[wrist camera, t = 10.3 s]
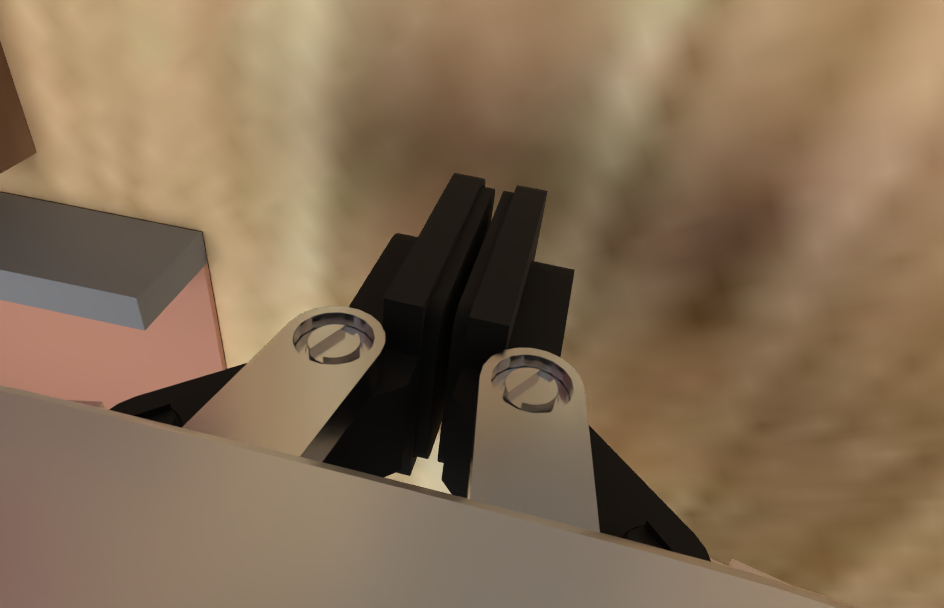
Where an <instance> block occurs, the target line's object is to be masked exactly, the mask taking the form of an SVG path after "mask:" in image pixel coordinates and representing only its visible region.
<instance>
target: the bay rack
mask: <svg viewBox="0 0 944 608" xmlns="http://www.w3.org/2000/svg"><path fill="white" fill-rule="evenodd" d="M222 370H226V365H225V359H224V354H223V348H222V342H221V337H220V331H219V325H218V320H217V314H216V308H215V303H214V297H213V292H212V286H211V280H210V275H209V269H208V263H207V258H206V252H205V246H204V241H203V235H202V232H199V231H194V230H189V229H184V228H179V227H174V226H169V225H164V224H159V223H154V222H149V221H144V220H139V219H134V218H128V217H123V216H118V215H113V214H108V213H103V212H98V211H93V210H88V209H83V208H78V207H73V206H68V205H63V204H58V203H53V202H48V201H43V200H38V199H33V198H28V197H22V196H17V195H12V194H7V193H2V192H0V385H2V386H7V387H12V388H17V389H21V390H26V391H30V392H34V393H39V394H43V395H47V396H52V397H56V398H60V399H65V400H79V401H99V402H103V404H104V408H105V409H107V410H109V409H111V408H112V407H114V406H115V405H117V404H118V403H120V402H123V401H125V400H128V399H130V398H133V397H135V396H138V395H142V394H145V393H148V392H152V391H155V390H158V389H162V388H165V387H169V386H172V385H175V384H179V383H182V382H185V381H189V380H192V379H195V378H199V377H202V376H205V375H209V374H212V373H216V372H219V371H222Z"/></svg>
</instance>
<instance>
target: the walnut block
mask: <svg viewBox="0 0 944 608" xmlns="http://www.w3.org/2000/svg"><path fill="white" fill-rule="evenodd" d="M34 153H36V149H35V146H34V143H33V140H32V137H31V134H30V131H29V128H28V125H27V122H26V118H25V115H24V112H23V109H22V106H21V103H20V100H19V97H18V94H17V91H16V88H15V85H14V82H13V79H12V76H11V73H10V70H9V67H8V63H7V60H6V57H5V54H4V51H3V48H2V45H1V42H0V173H2V172H4V171H5V170H7V169H9V168H11V167H12V166H14V165H16V164H17V163H19V162H21V161H23V160H24V159H26V158H28V157H29V156H31V155H33V154H34Z"/></svg>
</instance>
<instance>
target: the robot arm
mask: <svg viewBox="0 0 944 608" xmlns="http://www.w3.org/2000/svg"><path fill="white" fill-rule="evenodd" d="M494 196H495V189H491V188H486V187H485V179H483V178H478V177H473V176H467V175H462V174H457V173H454V174H453V176H452V178H451V179H450V181H449V183H448V185H447V187H446V188H445V190H444V192H443V194H442V195H441V197H440V199H439V201H438V203H437V204H436V206H435V208H434V210H433V212H432V213H431V215H430V217H429V219H428V220H427V222H426V224H425V226H424V228H423V229H422V231H421V233H420V235H419V236H418V237H414V236H409V235H404V234H400V233H397V234H395V235H394V236H393V237H392V239H391V240H390V242H389V243H388V245H387V247H386V248H385V250H384V251H383V253H382V255H381V256H380V258H379V259H378V261H377V263H376V264H375V266H374V267H373V269H372V271H371V272H370V274H369V275H368V277H367V279H366V280H365V282H364V283H363V285H362V287H361V288H360V290H359V291H358V293H357V295H356V296H355V298H354V299H353V301H352V303H351V304H350V306H349V307H345V306H327V307H321V308H315V309H312V310H310V311H307V312H304V313H302V314H300V315H298V316H297V317H296V318H294V319H293V320H292V321H290V322H289V323H288V324H287V325H286V326H285V327H284V328H283V329H282V330H281V331H280V332H279V333H278V334H277V335H276V336H275V337H274V338H273V339H272V340H271V341H270V342H269V343H268V344H267V345H266V346H264V347H263V348H262V349H261V350H260V351H259V352H258V353H257V354H256V355H255V356H254V357H253V358H252V359H251V360H250V361H249V362H248V363H246V364H242V365H239V366H236V367H232V368H229V369H226V370H222V371H219V372H216V373H212V374H209V375H205V376H202V377H199V378H195V379H192V380H189V381H185V382H182V383H179V384H175V385H172V386H169V387H165V388H162V389H158V390H155V391H152V392H148V393H145V394H142V395H138V396H135V397H133V398H130V399H128V400H125V401H123V402H120V403H118V404H117V405H115V406H114V407H112V408H111V409H109V410H107V409H105V408H104V404H103V402H99V401H79V400H65V399H60V398H56V397H52V396H47V395H43V394H39V393H34V392H30V391H26V390H21V389H17V388H12V387H7V386H2V385H0V608H857V607H854V606H852V605H849V604H846V603H844V602H841V601H838V600H836V599H833V598H830V597H828V596H825V595H822V594H820V593H817V592H813V591H810V590H806V589H803V588H800V587H796V586H793V585H790V584H788V583H786V582H783V581H781V580H779V579H777V578H775V577H772V576H770V575H768V574H766V573H764V572H761V571H759V570H757V569H755V568H752V567H750V566H748V565H746V564H744V563H741V562H739V561H737V560H735V559H733V558H732V559H731V560H730V562H729V563H728V565H725V564H722V563H720V562H718V561H716V560H714V559H711V558H710V557H709V555H708V553H707V550H706V548H705V547H704V546H703V545H702V543H701V542H700V541H699V539H698V538H697V537H696V535H695V534H694V533H693V532H692V531H691V530H690V529H689V528H688V527H687V526H686V525H685V524H684V523H683V522H682V521H681V520H680V519H679V518H678V516H677V515H676V514H675V513H674V512H673V511H672V510H671V509H670V508H669V507H668V506H667V505H666V504H665V503H664V502H663V501H662V500H661V499H660V498H659V497H658V496H657V495H656V494H655V493H654V492H653V491H652V490H651V489H650V488H649V487H648V486H647V485H646V484H645V482H644V481H643V480H642V479H641V478H640V477H639V476H638V475H637V474H636V473H635V472H634V471H633V470H632V469H631V468H630V467H629V466H628V465H627V464H626V463H625V462H624V461H623V460H622V459H621V458H620V457H619V456H618V455H617V454H616V453H615V452H614V451H613V450H612V449H611V447H610V446H609V445H608V444H607V443H606V442H605V441H604V440H603V439H602V438H601V437H600V436H599V435H598V434H597V433H596V432H595V431H594V430H593V429H592V428H591V427H590V426H589V423H588V414H587V404H586V395H585V388H584V385H583V381H582V378H581V376H580V375H579V374H578V373H577V371H576V370H575V369H574V367H573V366H571V365H570V364H569V363H567V362H566V361H565V360H564V359H562V358H561V357H560V356H561V350H562V344H563V338H564V332H565V326H566V320H567V314H568V308H569V301H570V295H571V289H572V283H573V277H574V270H573V269H568V268H563V267H558V266H554V265H549V264H544V263H539V262H534V258H535V253H536V248H537V243H538V238H539V233H540V227H541V222H542V217H543V212H544V207H545V202H546V196H547V191H544V190H539V189H534V188H529V187H524V186H518V185H517V187H516V189H515V192H514V193H512V192H507V191H503V194H502V196H501V199H500V201H499V204H498V206H497V209H496V211H495V214H494V216H493V219H492V221H491V218H492V211H493V204H494ZM441 422H442V425H441ZM440 425H441V434H440V442H439V451H438V462H442V463H444V465H443V473H442V481H443V482H444V484H445V485H446V487H447V488H448V490H449V491H450V492H451V494H452V495H451V494H447V493H443V492H439V491H435V490H431V489H427V488H423V487H419V486H415V485H411V484H407V483H403V482H399V481H395V480H391V479H387V478H384V477H386V476H388V475H391V474H393V473H395V472H397V473H401V474H405V475H409V476H410V475H411V472H412V469H413V467H414V464H415V461H416V458H417V457H421V458H425V459H428V458H429V456H430V453H431V451H432V448H433V445H434V442H435V439H436V436H437V433H438V431H439V428H440Z"/></svg>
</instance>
